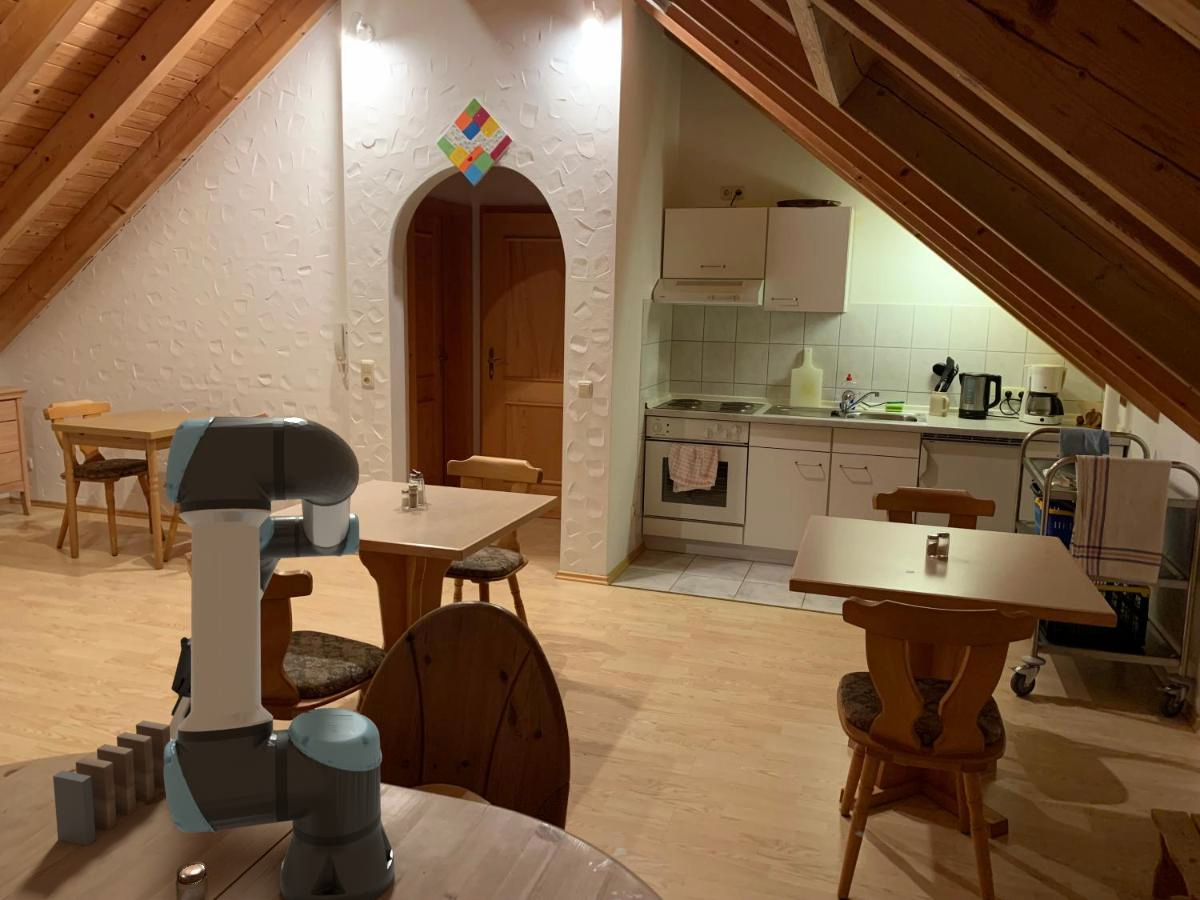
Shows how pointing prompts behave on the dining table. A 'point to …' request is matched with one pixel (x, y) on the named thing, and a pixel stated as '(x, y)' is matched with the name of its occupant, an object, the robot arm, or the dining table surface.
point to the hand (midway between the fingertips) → (173, 737)
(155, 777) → the domino
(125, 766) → the domino
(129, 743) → the domino
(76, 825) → the domino
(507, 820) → the dining table surface
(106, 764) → the domino
